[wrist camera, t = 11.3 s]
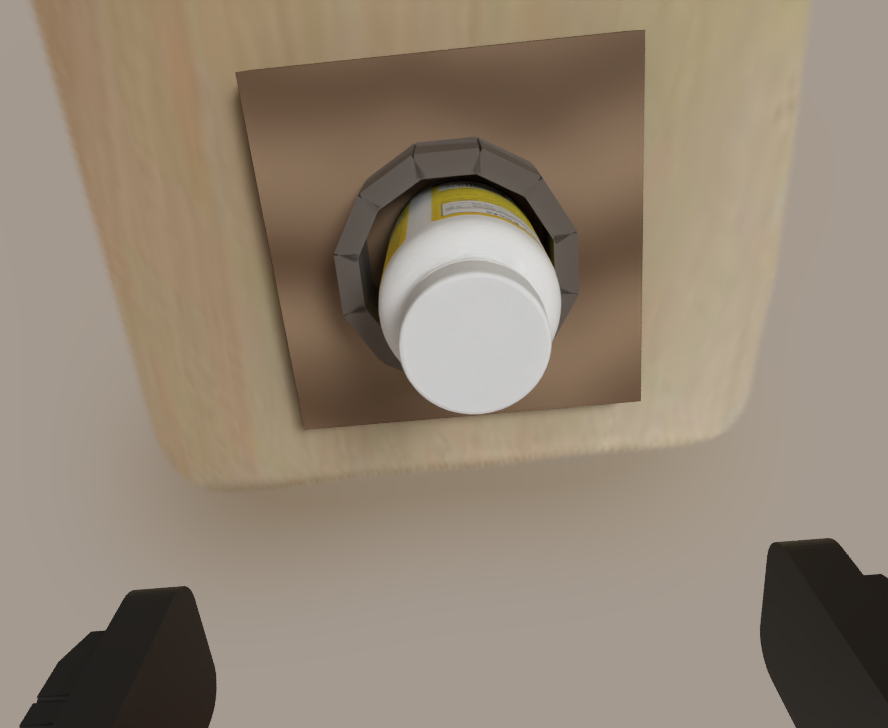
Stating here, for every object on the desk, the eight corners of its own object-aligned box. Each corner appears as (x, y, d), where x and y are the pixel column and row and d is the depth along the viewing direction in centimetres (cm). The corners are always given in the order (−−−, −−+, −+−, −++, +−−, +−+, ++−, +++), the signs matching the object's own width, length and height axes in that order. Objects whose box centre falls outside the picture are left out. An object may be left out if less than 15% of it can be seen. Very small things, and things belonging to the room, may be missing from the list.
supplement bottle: (438, 340, 29) (437, 471, 20) (362, 224, 28) (324, 312, 19) (559, 271, 28) (614, 378, 19) (489, 146, 27) (513, 200, 18)
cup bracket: (249, 70, 27) (210, 76, 23) (631, 30, 27) (669, 28, 22) (312, 407, 33) (290, 467, 28) (629, 380, 32) (660, 436, 28)
